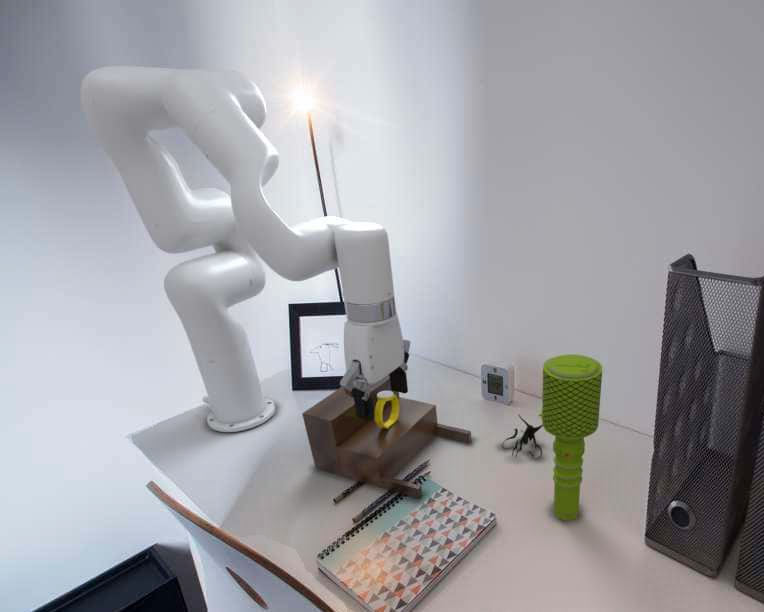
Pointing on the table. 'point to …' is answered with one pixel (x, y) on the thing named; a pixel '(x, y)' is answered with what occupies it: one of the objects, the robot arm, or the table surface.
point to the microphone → (570, 422)
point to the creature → (526, 437)
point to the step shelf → (373, 438)
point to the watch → (382, 398)
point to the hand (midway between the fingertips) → (383, 404)
